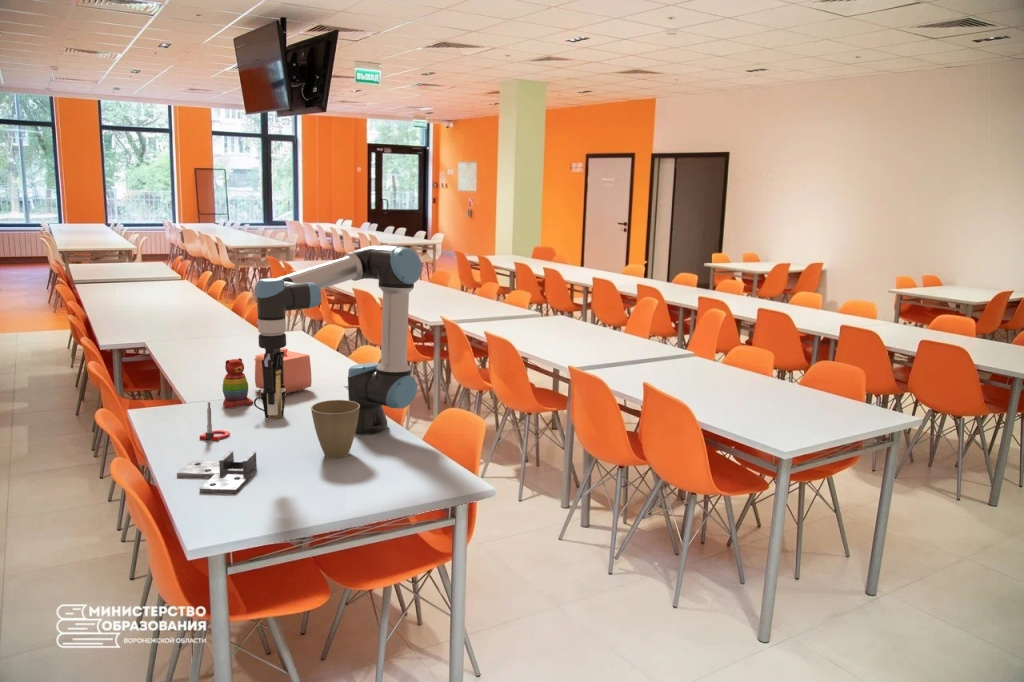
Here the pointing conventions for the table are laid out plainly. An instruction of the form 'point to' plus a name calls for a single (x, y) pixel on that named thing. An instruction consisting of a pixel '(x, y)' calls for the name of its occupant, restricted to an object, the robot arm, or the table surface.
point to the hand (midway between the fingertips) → (274, 412)
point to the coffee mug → (264, 399)
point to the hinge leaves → (221, 473)
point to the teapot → (288, 371)
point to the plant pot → (335, 426)
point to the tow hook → (210, 434)
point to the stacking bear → (235, 385)
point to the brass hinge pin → (278, 391)
